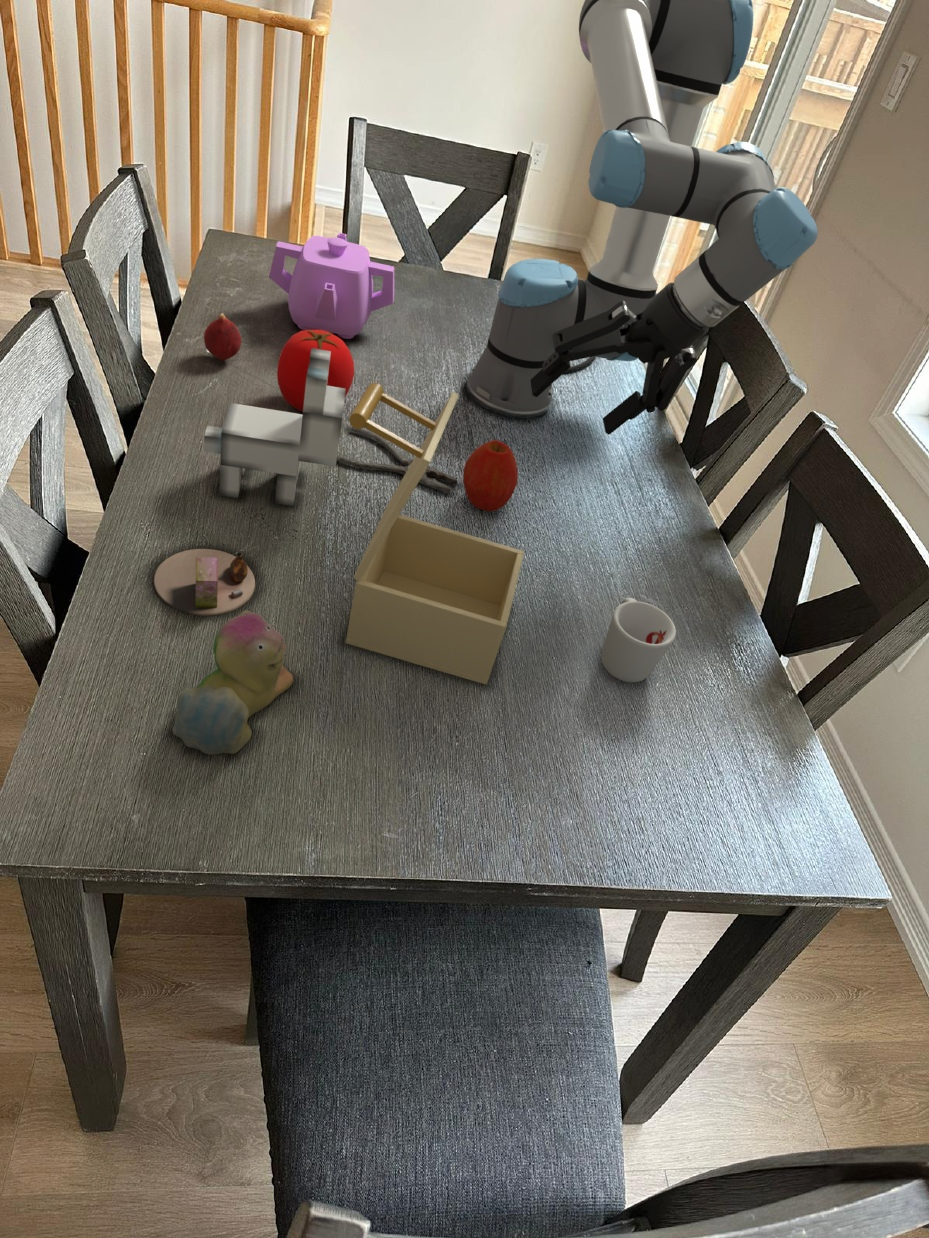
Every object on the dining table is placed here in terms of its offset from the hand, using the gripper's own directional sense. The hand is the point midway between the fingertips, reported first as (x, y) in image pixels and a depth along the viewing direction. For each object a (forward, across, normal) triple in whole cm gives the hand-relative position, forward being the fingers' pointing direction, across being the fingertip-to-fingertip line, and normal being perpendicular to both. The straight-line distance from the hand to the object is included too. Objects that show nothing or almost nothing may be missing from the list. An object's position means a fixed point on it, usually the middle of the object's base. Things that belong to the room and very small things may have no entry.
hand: (570, 408), depth 121 cm
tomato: (+36, -20, +18) cm, 45 cm away
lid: (+3, -25, -22) cm, 34 cm away
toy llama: (+32, -29, -4) cm, 43 cm away
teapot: (+42, -14, +46) cm, 64 cm away
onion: (+44, -32, +28) cm, 62 cm away
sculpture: (+23, -36, -43) cm, 61 cm away
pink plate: (+30, -38, -24) cm, 54 cm away
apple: (+20, 0, -3) cm, 20 cm away
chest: (+18, -13, -29) cm, 36 cm away
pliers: (+27, -10, +5) cm, 29 cm away
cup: (+7, +9, -33) cm, 35 cm away
